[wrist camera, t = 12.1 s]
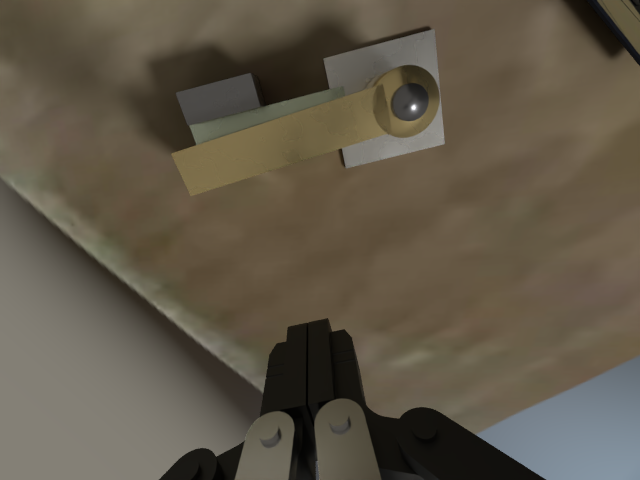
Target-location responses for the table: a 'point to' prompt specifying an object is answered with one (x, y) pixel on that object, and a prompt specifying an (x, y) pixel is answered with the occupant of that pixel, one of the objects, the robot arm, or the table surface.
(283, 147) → the latch bar
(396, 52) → the base
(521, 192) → the table surface
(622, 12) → the speaker
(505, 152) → the table surface
